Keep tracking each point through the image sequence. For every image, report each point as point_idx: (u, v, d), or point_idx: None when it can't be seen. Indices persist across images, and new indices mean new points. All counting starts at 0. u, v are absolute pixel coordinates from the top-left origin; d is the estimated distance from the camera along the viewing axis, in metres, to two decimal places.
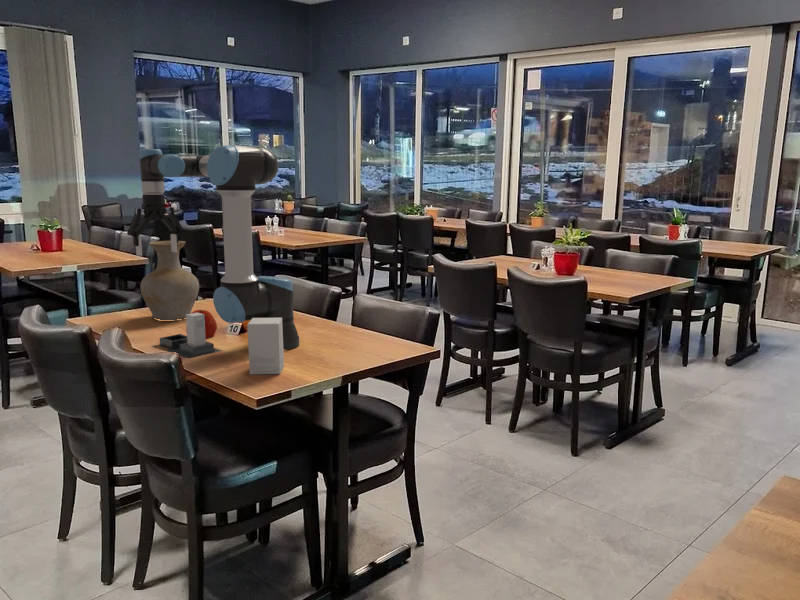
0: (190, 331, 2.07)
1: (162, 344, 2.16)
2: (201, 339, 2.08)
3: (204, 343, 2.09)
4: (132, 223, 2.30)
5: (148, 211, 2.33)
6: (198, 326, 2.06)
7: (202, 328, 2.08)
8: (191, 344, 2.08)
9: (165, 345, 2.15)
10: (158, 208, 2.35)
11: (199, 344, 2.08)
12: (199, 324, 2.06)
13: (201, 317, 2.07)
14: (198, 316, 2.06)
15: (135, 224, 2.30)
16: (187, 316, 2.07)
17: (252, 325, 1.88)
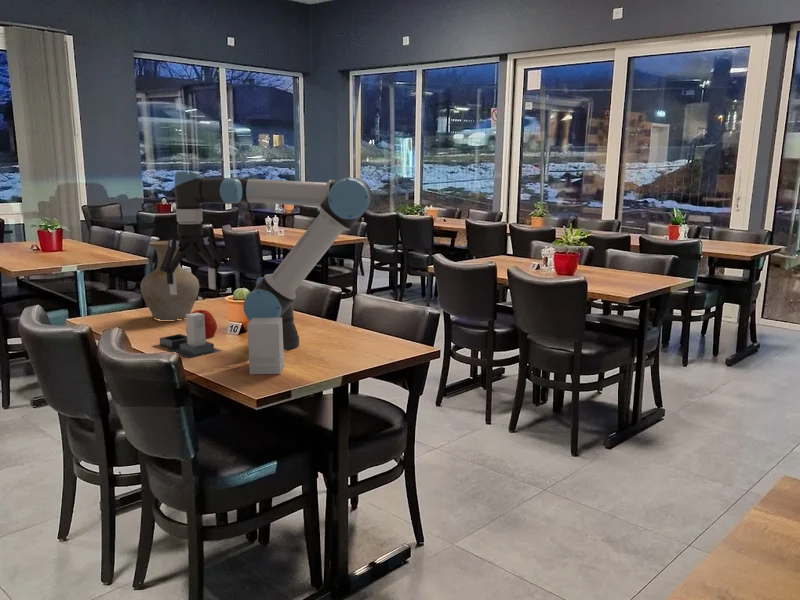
0: (190, 331, 2.07)
1: (162, 344, 2.16)
2: (201, 339, 2.08)
3: (204, 343, 2.09)
4: (166, 257, 1.98)
5: (184, 243, 2.00)
6: (198, 326, 2.06)
7: (202, 328, 2.08)
8: (191, 344, 2.08)
9: (165, 345, 2.15)
10: (195, 239, 2.03)
11: (199, 344, 2.08)
12: (199, 324, 2.06)
13: (201, 317, 2.07)
14: (198, 316, 2.06)
15: (169, 259, 1.97)
16: (187, 316, 2.07)
17: (252, 325, 1.88)
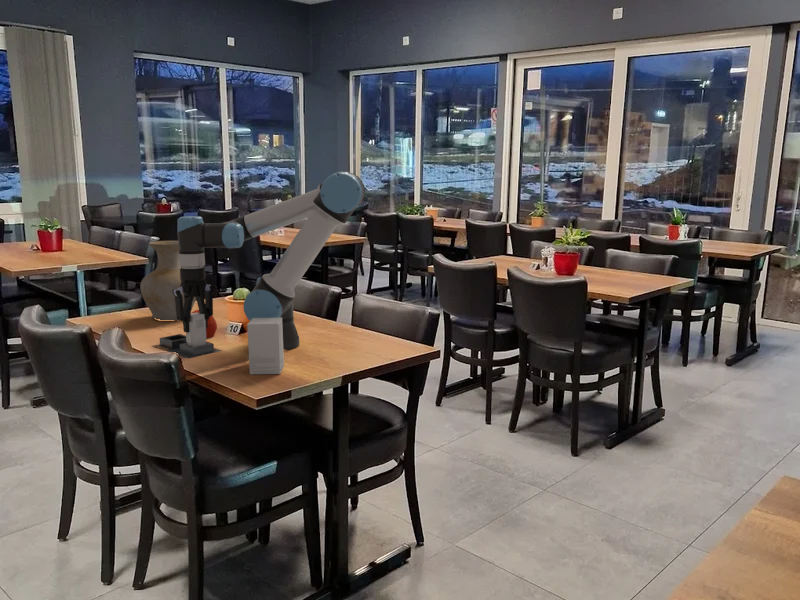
0: None
1: (162, 344, 2.16)
2: (201, 339, 2.08)
3: (204, 343, 2.09)
4: (177, 308, 2.03)
5: (187, 287, 2.03)
6: (198, 326, 2.06)
7: (202, 328, 2.08)
8: (191, 344, 2.08)
9: (165, 345, 2.15)
10: (199, 280, 2.06)
11: (199, 344, 2.08)
12: (199, 324, 2.06)
13: (201, 317, 2.07)
14: (198, 316, 2.06)
15: (181, 308, 2.02)
16: None
17: (252, 325, 1.88)
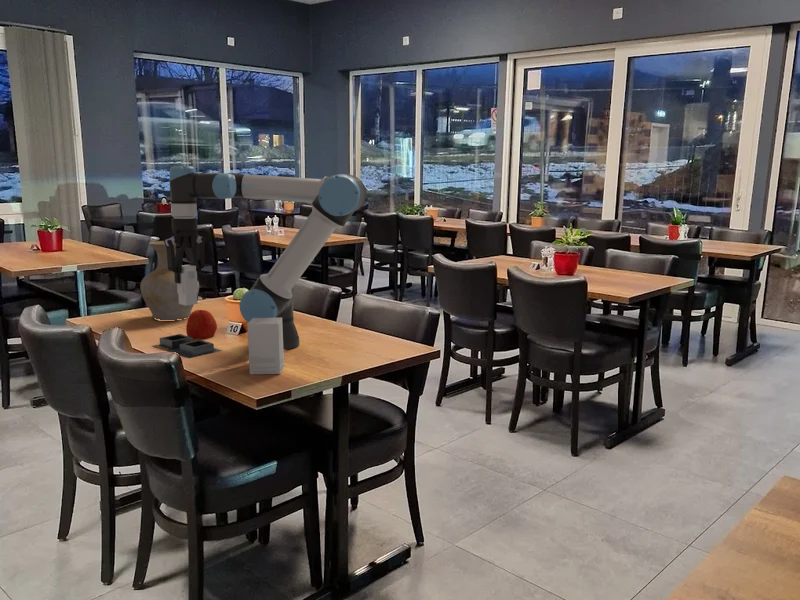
0: None
1: (162, 344, 2.16)
2: (192, 290, 2.07)
3: (195, 295, 2.08)
4: (169, 258, 2.01)
5: (179, 237, 2.02)
6: (190, 277, 2.05)
7: (194, 280, 2.07)
8: (182, 296, 2.06)
9: (165, 345, 2.15)
10: (191, 231, 2.05)
11: (190, 296, 2.07)
12: (191, 275, 2.05)
13: (193, 268, 2.06)
14: (190, 267, 2.05)
15: (172, 258, 2.01)
16: None
17: (252, 325, 1.88)
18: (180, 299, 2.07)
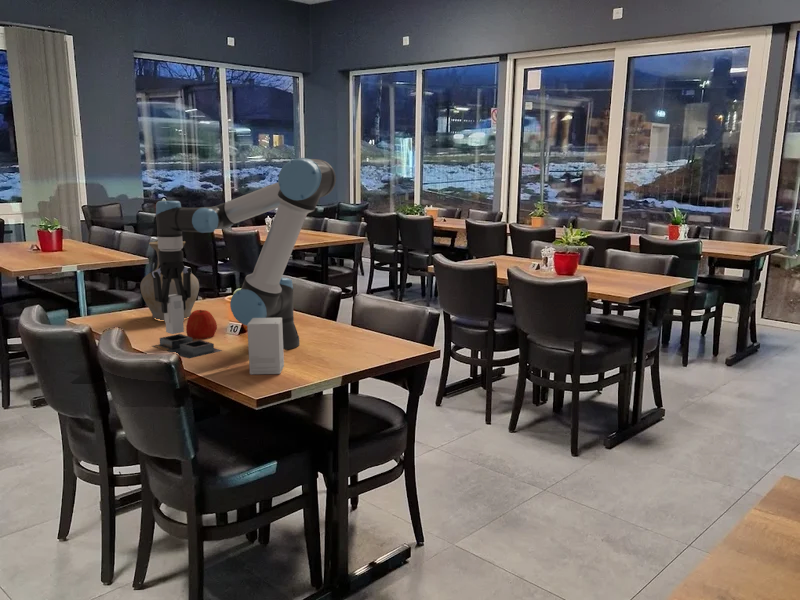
0: None
1: (162, 344, 2.16)
2: (179, 319, 2.15)
3: (182, 324, 2.16)
4: (155, 289, 2.09)
5: (165, 269, 2.10)
6: (176, 307, 2.13)
7: (180, 309, 2.15)
8: (169, 325, 2.14)
9: (165, 345, 2.15)
10: (177, 262, 2.13)
11: (177, 324, 2.15)
12: (177, 305, 2.13)
13: (179, 298, 2.14)
14: (176, 297, 2.13)
15: (159, 289, 2.09)
16: None
17: (252, 325, 1.88)
18: (167, 328, 2.15)
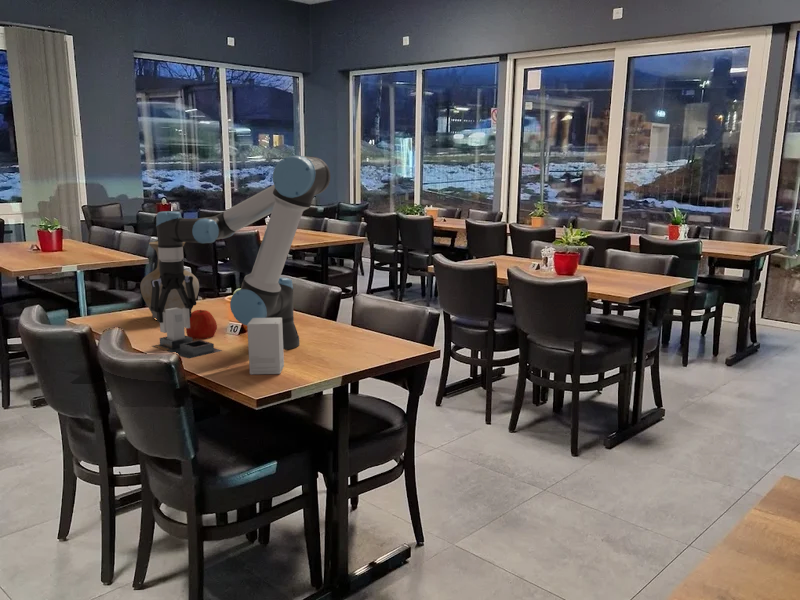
0: (169, 325, 2.14)
1: (162, 344, 2.16)
2: (180, 333, 2.16)
3: (183, 337, 2.17)
4: (153, 298, 2.09)
5: (166, 280, 2.10)
6: (177, 320, 2.13)
7: (181, 322, 2.15)
8: (170, 338, 2.15)
9: (165, 345, 2.15)
10: (177, 274, 2.13)
11: (178, 338, 2.15)
12: (178, 318, 2.14)
13: (180, 312, 2.15)
14: (177, 311, 2.14)
15: (156, 299, 2.09)
16: (166, 311, 2.14)
17: (252, 325, 1.88)
18: None
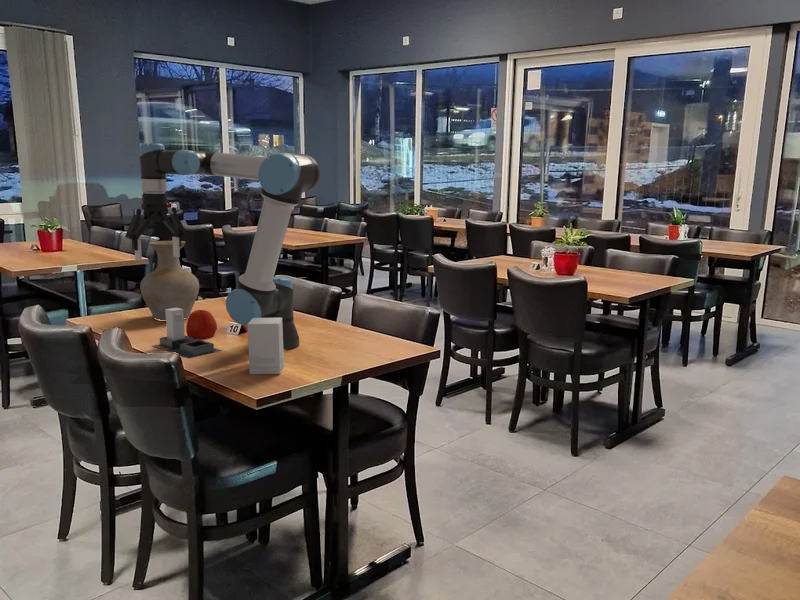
0: (169, 325, 2.14)
1: (162, 344, 2.16)
2: (180, 333, 2.16)
3: (183, 337, 2.17)
4: (131, 225, 2.09)
5: (148, 212, 2.12)
6: (177, 320, 2.13)
7: (181, 322, 2.15)
8: (170, 338, 2.15)
9: (165, 345, 2.15)
10: (159, 208, 2.14)
11: (178, 338, 2.15)
12: (178, 318, 2.14)
13: (180, 312, 2.15)
14: (177, 311, 2.14)
15: (134, 226, 2.08)
16: (166, 311, 2.14)
17: (252, 325, 1.88)
18: None
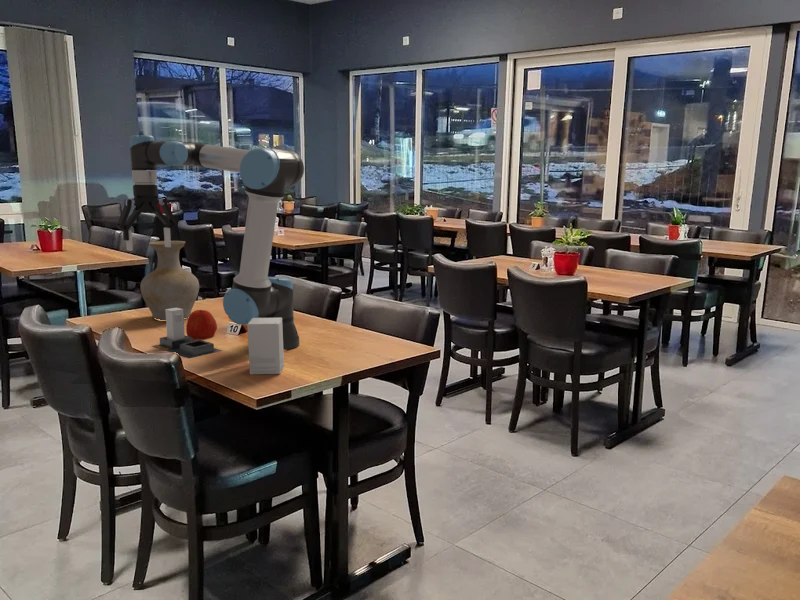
0: (169, 325, 2.14)
1: (162, 344, 2.16)
2: (180, 333, 2.16)
3: (183, 337, 2.17)
4: (122, 215, 2.12)
5: (139, 202, 2.15)
6: (177, 320, 2.13)
7: (181, 322, 2.15)
8: (170, 338, 2.15)
9: (165, 345, 2.15)
10: (150, 199, 2.18)
11: (178, 338, 2.15)
12: (178, 318, 2.14)
13: (180, 312, 2.15)
14: (177, 311, 2.14)
15: (125, 216, 2.12)
16: (166, 311, 2.14)
17: (252, 325, 1.88)
18: None
